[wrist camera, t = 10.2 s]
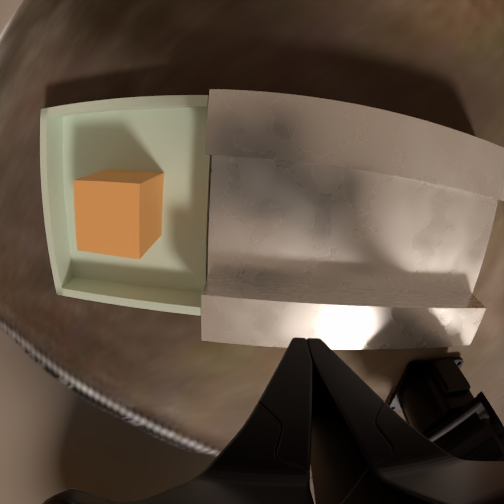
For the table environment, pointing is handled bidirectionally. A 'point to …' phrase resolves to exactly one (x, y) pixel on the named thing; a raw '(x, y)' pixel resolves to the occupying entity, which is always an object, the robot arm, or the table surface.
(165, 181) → the tray
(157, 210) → the peach toy brick
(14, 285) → the table surface
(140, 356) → the table surface
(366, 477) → the robot arm
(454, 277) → the slot rail
